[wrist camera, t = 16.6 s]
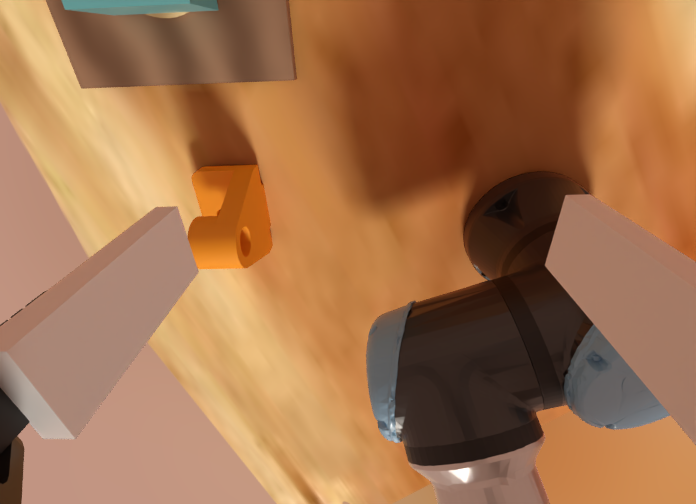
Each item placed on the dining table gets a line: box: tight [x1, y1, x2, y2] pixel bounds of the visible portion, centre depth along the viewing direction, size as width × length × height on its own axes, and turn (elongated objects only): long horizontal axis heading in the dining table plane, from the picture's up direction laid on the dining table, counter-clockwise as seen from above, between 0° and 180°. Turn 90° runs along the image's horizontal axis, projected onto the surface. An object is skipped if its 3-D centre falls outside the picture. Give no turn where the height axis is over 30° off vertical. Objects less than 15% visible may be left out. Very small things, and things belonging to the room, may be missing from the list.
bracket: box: [188, 165, 273, 269], centre depth 38 cm, size 11×7×12 cm, turn 3°
